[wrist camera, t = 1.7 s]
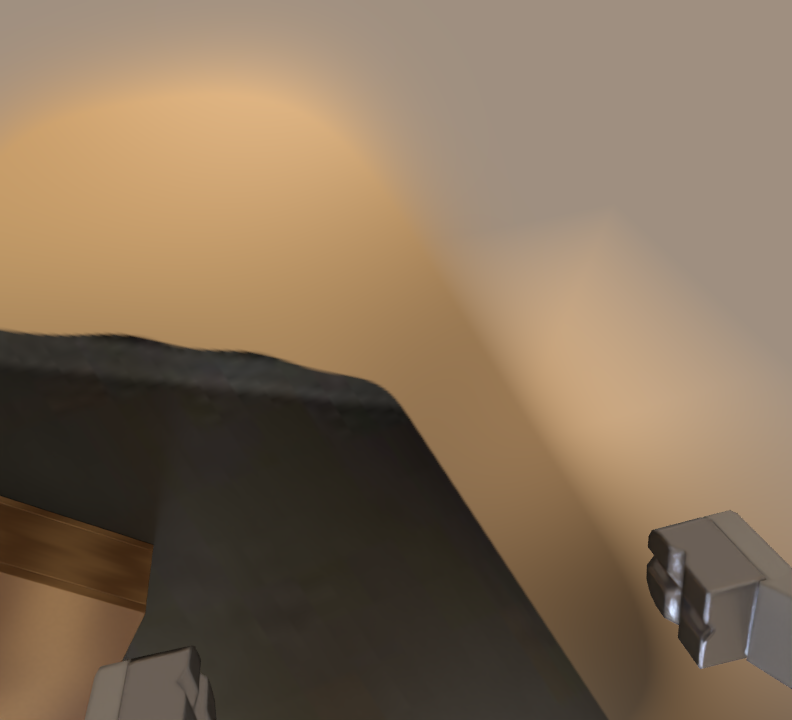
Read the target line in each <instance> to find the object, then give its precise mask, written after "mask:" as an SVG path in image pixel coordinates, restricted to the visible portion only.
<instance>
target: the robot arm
mask: <svg viewBox="0 0 792 720" xmlns="http://www.w3.org/2000/svg"><path fill="white" fill-rule="evenodd" d="M648 548H649V549H650V550H651V551H652V553H653V554H654V556H653V558H652V559H651V560H650V562H649V563H648V564H647V583H648V587H649V590H650V594H651V596H652V598H653V600H654V602H655V604H656V606H657V608H658V609H659V611H660V612H661V614H662V615H663V617H664V618H666V619H668V620H670V621H672V622H674V623H676V624H678V625H679V632H678V638H679V640H680V641H681V643H682V644H683V645H684V647H685V648H686V650H687V651H688V652H689V654H690V655H691V657H692V658H693V660H694V661H695V662H696V664H697V665H698V667H699V668H700V669H702V668H706V667H710V666H714V665H718V664H723V663H726V662H730V661H735V660H739V659H743V658H747V661H749V662H750V663H752V664H753V665H755V666H756V667H758V668H759V669H761V670H763V671H764V672H766V673H767V674H769V675H770V676H772V677H774V678H775V679H777V680H779V681H780V682H781V683H783V684H785V685H786V686H788V687H790V688H791V689H792V568H791V567H790V566H789V565H788V564H787V563H786V562H785V561H784V560H783V559H782V558H781V557H780V556H779V555H778V554H777V553H776V552H775V551H774V550H773V549H772V548H771V547H770V546H769V545H768V544H767V543H766V542H765V541H764V540H763V539H762V538H761V537H760V536H759V535H758V534H757V533H756V532H755V531H754V530H753V529H752V528H751V527H750V526H749V525H748V524H747V523H746V522H745V521H744V520H743V519H742V518H741V517H740V516H739V515H738V514H737V513H735V512H733V511H731V510H729V511H725V512H721V513H717V514H713V515H709V516H705V517H703V518H697V519H693V520H689V521H685V522H682V523H678V524H674V525H670V526H666V527H662V528H658V529H655V530H652V531H651V533H650V535H649V541H648ZM200 665H201V659H200V656H199V654H198V652H197V650H196V647H195V646H187V647H183V648H178V649H174V650H169V651H165V652H160V653H156V654H151V655H147V656H142V657H138V658H133V659H131V660H127V661H122V662H118V663H113V664H109V665H105V666H101V667H100V668H99V670H98V672H97V673H96V675H95V677H94V681H93V686H92V690H91V694H90V699H89V703H88V707H87V712H86V716H85V720H216V709H215V699H214V695H213V691H212V687H211V684H210V681H209V679H208V677H207V676H205V675H203V674H201V673H200Z"/></svg>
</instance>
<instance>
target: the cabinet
mask: <svg viewBox="0 0 792 720" xmlns="http://www.w3.org/2000/svg"><path fill="white" fill-rule="evenodd" d="M152 552H153V545H152V544H148V543H145V542H142V541H139V540H136V539H133V538H130V537H127V536H124V535H120V534H117V533H114V532H111V531H108V530H105V529H102V528H99V527H96V526H92V525H89V524H86V523H83V522H80V521H77V520H74V519H71V518H68V517H64V516H61V515H58V514H55V513H52V512H49V511H46V510H43V509H40V508H36V507H33V506H30V505H27V504H24V503H21V502H18V501H15V500H12V499H8V498H5V497H2V496H0V720H85V716H86V712H87V707H88V703H89V699H90V694H91V690H92V686H93V681H94V677H95V675H96V673H97V672H98V670H99V668H100V667H101V666H105V665H109V664H113V663H118V662H122V660H123V658H124V656H125V654H126V652H127V650H128V648H129V646H130V643H131V641H132V639H133V637H134V635H135V633H136V631H137V629H138V627H139V625H140V623H141V621H142V619H143V617H144V615H145V611H146V602H147V594H148V585H149V577H150V569H151V561H152Z"/></svg>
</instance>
